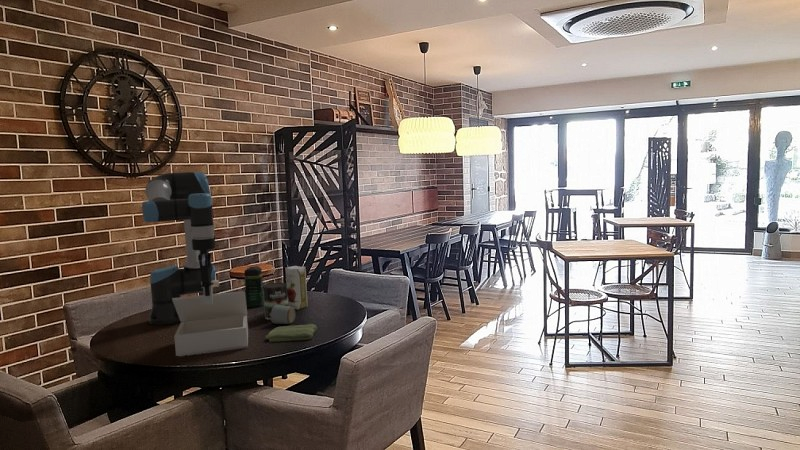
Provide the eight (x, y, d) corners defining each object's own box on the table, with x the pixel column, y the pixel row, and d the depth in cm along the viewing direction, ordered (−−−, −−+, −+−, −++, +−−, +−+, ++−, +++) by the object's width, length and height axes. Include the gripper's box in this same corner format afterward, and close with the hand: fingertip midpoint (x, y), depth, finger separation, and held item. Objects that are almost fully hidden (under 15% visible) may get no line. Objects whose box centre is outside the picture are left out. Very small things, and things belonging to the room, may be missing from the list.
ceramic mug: (289, 326, 210) (288, 307, 210) (270, 325, 212) (269, 307, 212) (299, 319, 221) (299, 301, 220) (282, 318, 223) (281, 301, 222)
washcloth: (273, 332, 205) (273, 324, 204) (317, 330, 205) (317, 322, 204) (264, 343, 192) (264, 335, 191) (312, 341, 192) (311, 333, 191)
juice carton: (297, 304, 245) (295, 265, 243) (310, 306, 240) (307, 266, 238) (285, 308, 239) (282, 267, 237) (298, 310, 234) (295, 269, 232)
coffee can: (291, 317, 224) (289, 285, 222) (268, 321, 219) (265, 288, 217) (285, 312, 233) (283, 281, 231) (262, 315, 228) (260, 284, 226)
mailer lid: (180, 321, 196) (181, 301, 201) (247, 314, 203) (246, 294, 207) (172, 300, 181) (172, 278, 186) (244, 293, 188) (243, 272, 192)
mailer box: (182, 341, 197) (181, 322, 196) (248, 333, 203) (246, 314, 203) (176, 356, 180) (174, 336, 179) (247, 347, 186) (246, 327, 185)
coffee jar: (262, 307, 243) (259, 268, 241) (245, 308, 242) (242, 269, 240) (265, 302, 253) (262, 264, 251) (248, 303, 252) (245, 265, 250)
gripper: (193, 236, 184) (199, 300, 187) (189, 241, 172) (195, 310, 174) (215, 234, 186) (221, 298, 189) (213, 239, 174) (218, 307, 176)
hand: (208, 304), depth 182 cm, fingers closed
